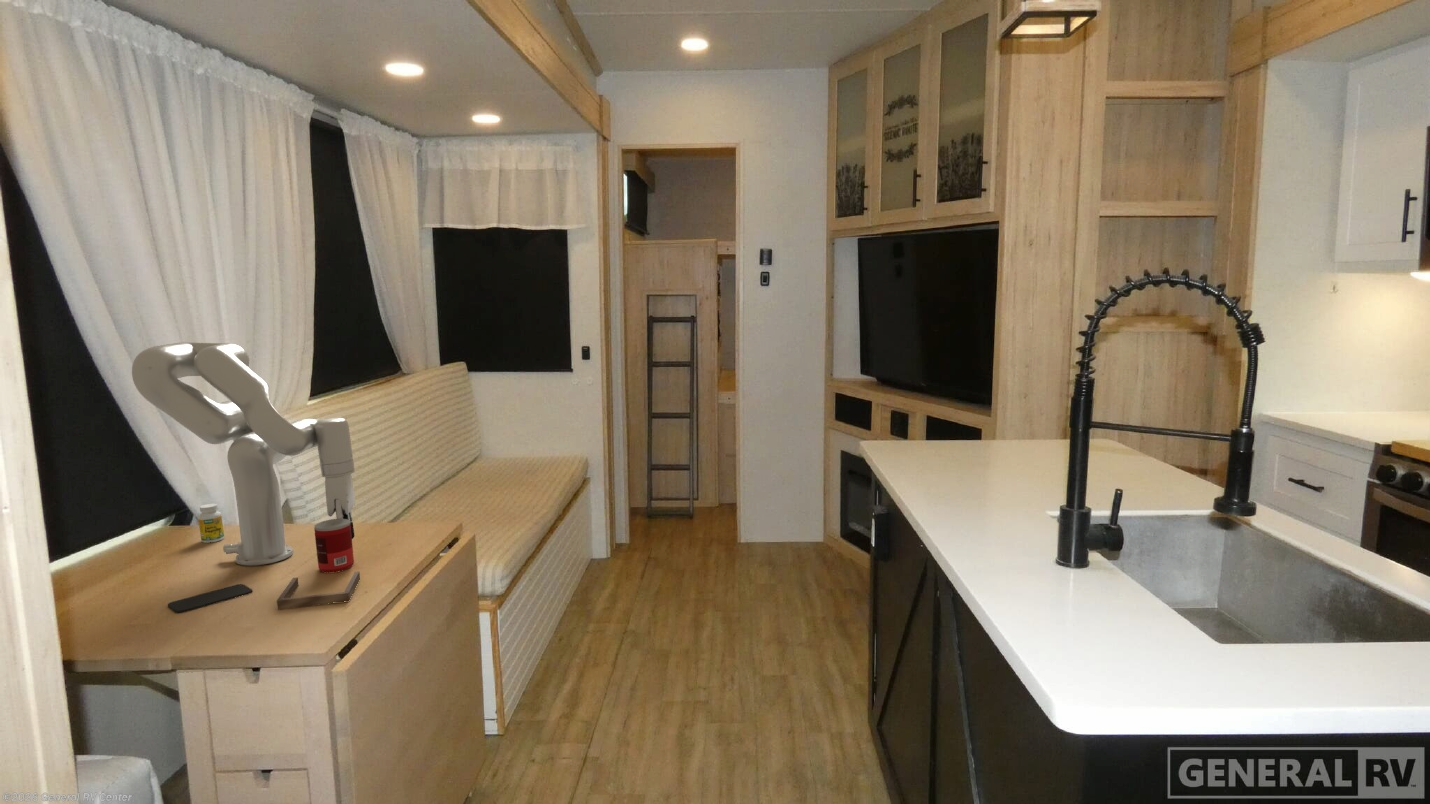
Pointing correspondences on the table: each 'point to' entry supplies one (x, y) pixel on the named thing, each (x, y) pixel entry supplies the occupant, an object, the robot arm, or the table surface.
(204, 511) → the supplement bottle
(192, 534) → the table surface
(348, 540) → the canned food
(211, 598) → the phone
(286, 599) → the walnut frame
